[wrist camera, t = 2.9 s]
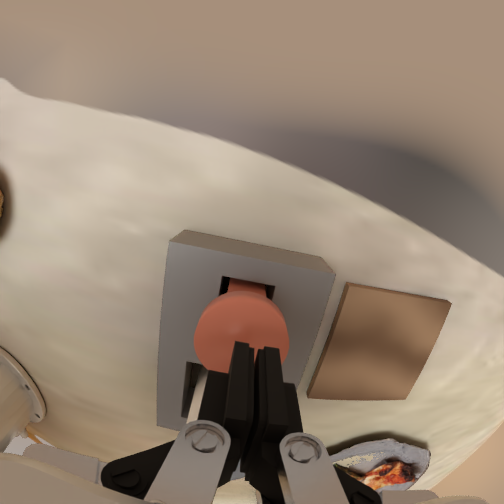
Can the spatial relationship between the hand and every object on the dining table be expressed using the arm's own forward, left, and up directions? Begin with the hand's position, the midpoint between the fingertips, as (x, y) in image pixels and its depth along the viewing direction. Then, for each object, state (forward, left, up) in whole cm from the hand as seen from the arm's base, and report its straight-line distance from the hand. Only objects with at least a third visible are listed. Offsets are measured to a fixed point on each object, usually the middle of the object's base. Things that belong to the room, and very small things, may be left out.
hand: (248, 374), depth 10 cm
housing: (-5, 0, -11) cm, 12 cm away
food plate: (-28, -20, -12) cm, 36 cm away
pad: (-4, -13, -11) cm, 17 cm away
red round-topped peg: (0, 0, -9) cm, 9 cm away
